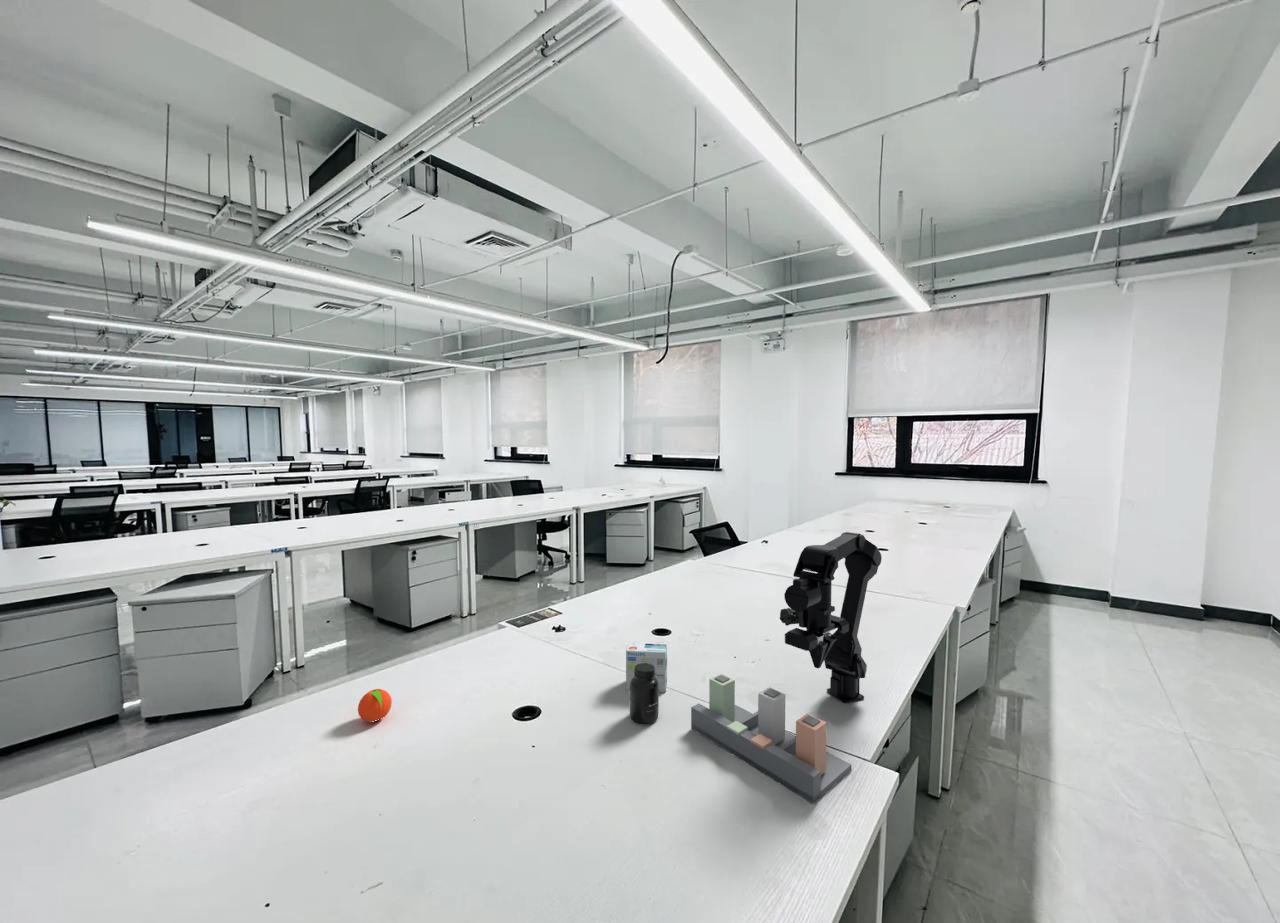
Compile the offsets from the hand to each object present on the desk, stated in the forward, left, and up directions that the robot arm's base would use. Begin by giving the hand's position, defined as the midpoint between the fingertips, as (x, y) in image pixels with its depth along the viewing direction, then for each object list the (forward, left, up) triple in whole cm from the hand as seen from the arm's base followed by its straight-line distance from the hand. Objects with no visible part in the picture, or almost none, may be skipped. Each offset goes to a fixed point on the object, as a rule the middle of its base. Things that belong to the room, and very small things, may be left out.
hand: (817, 667), depth 113 cm
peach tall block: (+15, +16, -11) cm, 25 cm away
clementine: (+97, -34, -12) cm, 103 cm away
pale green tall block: (+23, -4, -10) cm, 25 cm away
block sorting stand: (+18, +6, -12) cm, 22 cm away
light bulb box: (+32, -28, -12) cm, 44 cm away
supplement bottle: (+38, -14, -12) cm, 42 cm away
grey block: (+16, +5, -11) cm, 20 cm away
